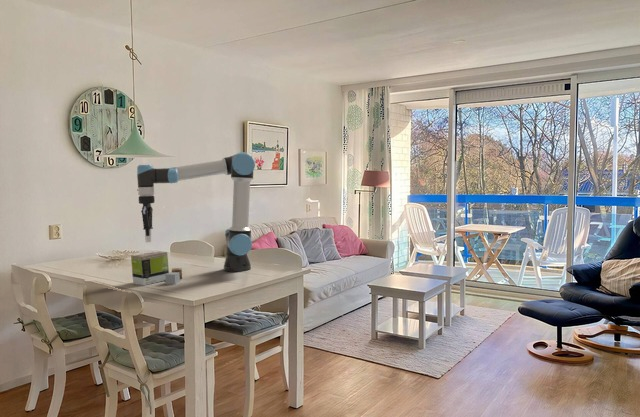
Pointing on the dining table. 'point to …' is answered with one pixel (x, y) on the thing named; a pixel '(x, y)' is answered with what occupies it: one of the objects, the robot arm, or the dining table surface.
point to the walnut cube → (178, 271)
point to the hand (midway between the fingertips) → (148, 242)
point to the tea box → (149, 267)
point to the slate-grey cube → (172, 278)
